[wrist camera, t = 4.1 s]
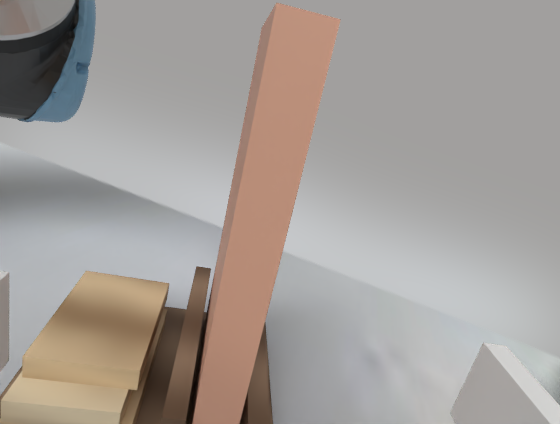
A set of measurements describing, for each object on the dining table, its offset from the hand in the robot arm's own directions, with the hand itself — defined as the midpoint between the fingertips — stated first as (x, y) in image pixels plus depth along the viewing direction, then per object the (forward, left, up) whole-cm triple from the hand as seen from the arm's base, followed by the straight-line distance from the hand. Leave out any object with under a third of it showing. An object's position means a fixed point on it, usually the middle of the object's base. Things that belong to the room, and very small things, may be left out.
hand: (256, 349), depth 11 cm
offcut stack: (-10, -7, -11) cm, 16 cm away
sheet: (-10, 0, -11) cm, 15 cm away
